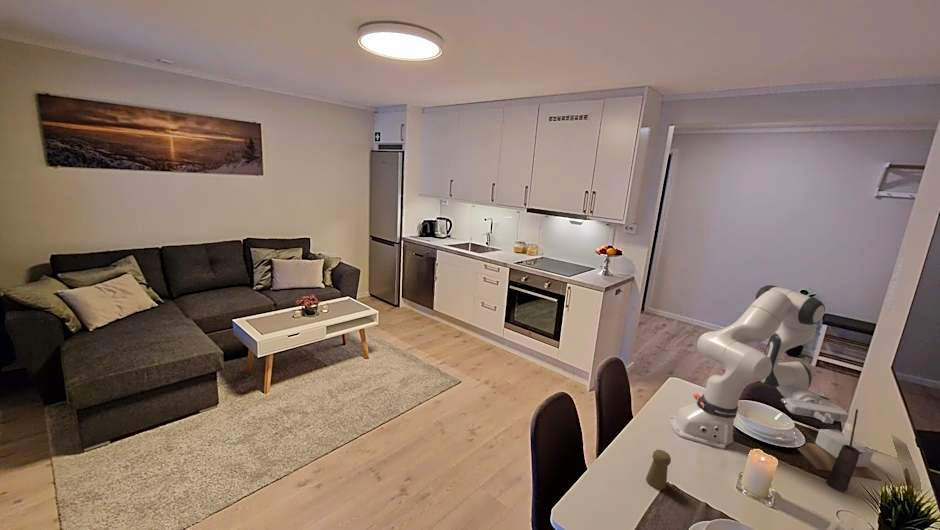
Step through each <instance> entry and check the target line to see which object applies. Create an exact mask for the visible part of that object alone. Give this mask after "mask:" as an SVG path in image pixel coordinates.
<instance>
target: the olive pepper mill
mask: <svg viewBox="0 0 940 530" xmlns="http://www.w3.org/2000/svg"><path fill="white" fill-rule="evenodd" d="M671 459H672V458H671V455H670V454H669V453H668V452H666V451H665V450H663V449H656V450H654V451H653V452H652V463H651V465H650V468H649V470H648V472H647V475H646V477H645V481H646V483H647V485H649V486H650V487H651V488H653V489H655V490H659V491H662V490H665V489H666V488H667V479H668V466H669V465H670V464H671Z"/></svg>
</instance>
